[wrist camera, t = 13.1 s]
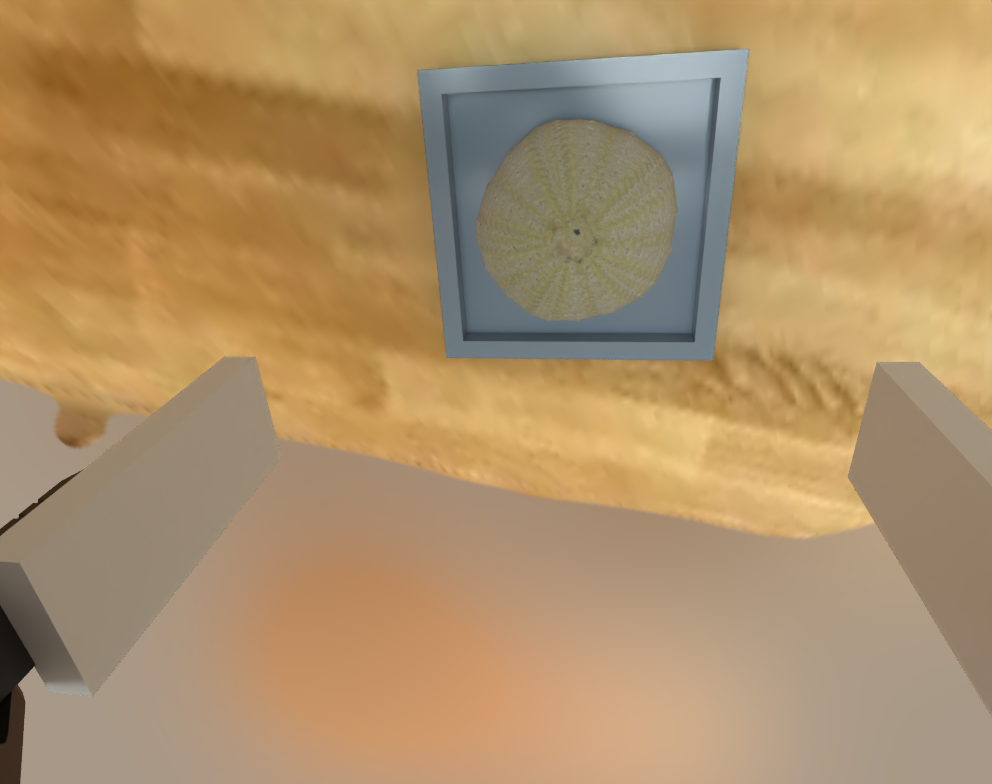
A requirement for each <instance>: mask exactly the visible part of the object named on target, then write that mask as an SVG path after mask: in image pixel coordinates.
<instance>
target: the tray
mask: <svg viewBox="0 0 992 784" xmlns="http://www.w3.org/2000/svg"><path fill="white" fill-rule="evenodd" d="M748 55H749V49H738V50H722V51H707V52H692V53H676V54H661V55H645V56H630V57H614V58H599V59H583V60H568V61H553V62H537V63H522V64H506V65H491V66H475V67H460V68H445V69H429V70H417V73H418V83H419V92H420V102H421V112H422V122H423V132H424V141H425V151H426V161H427V171H428V180H429V190H430V200H431V210H432V220H433V229H434V239H435V249H436V259H437V268H438V278H439V288H440V298H441V308H442V317H443V327H444V337H445V347H446V357H447V358H503V359H607V360H711V361H713V358H714V349H715V341H716V332H717V323H718V315H719V306H720V297H721V289H722V280H723V271H724V263H725V254H726V245H727V237H728V228H729V219H730V211H731V202H732V193H733V185H734V176H735V167H736V159H737V150H738V141H739V133H740V124H741V115H742V107H743V98H744V89H745V81H746V72H747V63H748ZM574 119H583V120H592V119H594V120H595V121H597V122H603V123H604V124H606V125H609V126H611V127H615V128H619V129H624V130H626V131H628V132H634V134H635V136H637V137H639V138H640V139H641V140H642V141H644V142H645V143H646V144H647V145H649V146H651V147H652V148H654V149H655V150H656V151H657V153H659V154H661V155H662V156H663V158H664V160H665V162H666V164H667V165H668V167H669V169H670V171H671V172H672V173H673V174H672V175H673V179H674V186H675V195H676V202H677V208H678V213H677V215H676V219H675V227H674V232H673V239H672V245H671V247H672V252H671V253H670V254H669V255H668V258H667V260H666V263H665V265H664V267H663V270H662V273H661V274H660V276H659V278H658V280H657V283H655V284H654V285H653V286H652V287H651V288H650V289H649V290H648V291H647V292H646V293H645V294H644V296H643V297H640V298H638V299H636V300H635V301H633V302H631V303H629V304H627V305H626V306H624V307H622V308H620V309H618V310H617V311H616V312H614V313H608V314H607V315H604V314H603V315H599V316H594V317H590V318H587V319H582V320H580V321H578V322H577V321H575V320H571V321H570V320H558V321H556V320H550V321H547V320H545V319H542V318H539V317H536V316H532V315H531V314H529V313H528V312H526V311H525V310H524V309H523V308H522V307H521V306H520V305H518V304H517V303H516V302H514V301H513V300H512V299H510V298H507V295H506V294H505V293H504V292H503V291H502V290H501V288H500V287H499V285H498V284H497V283H496V281H495V280H494V279H493V278H492V277H490V275H489V273H488V271H487V270H486V268H485V263H484V260H483V256H482V253H481V251H480V248H479V245H478V241H477V239H476V235H477V230H476V228H477V224H476V218H477V216H478V213H479V210H480V207H481V204H482V201H483V197H484V194H485V192H486V185H488V184H489V183H490V180H491V178H493V176H494V175H495V173H496V172H497V170H498V169H499V167H500V165H501V164H502V162H503V158H504V157H506V155H507V153H508V151H511V150H512V149H513V148H514V147H515V146H516V145H517V144H518V143H519V142H521V141H522V140H523V139H524V138H525V137H526V136H527V135H528V134H530V133H531V132H532V131H533V130H534V129H535V128H536V127H539V126H541V125H544V124H546V123H549V122H552V121H555V120H574Z"/></svg>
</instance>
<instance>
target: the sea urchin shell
mask: <svg viewBox="0 0 992 784" xmlns="http://www.w3.org/2000/svg"><path fill="white" fill-rule="evenodd" d="M672 174H673V173H672V172H671V171H670V169H669V167H668V165H667V164H666V162H665V160H664V158H663V156H662V155H661V154H659V153H657V151H656V150H655V149H654V148H652V147H651V146H649V145H647V144H646V143H645V142H644V141H642V140H641V139H640V138H639V137H637V136H635V134H634V132H628V131H626V130H624V129H619V128H615V127H611V126H609V125H606V124H604V123H603V122H597V121H595V120H594V119H592V120H583V119H574V120H555V121H552V122H549V123H546V124H544V125H541V126H539V127H536V128H535V129H534V130H533V131H532V132H531V133H530V134H528V135H527V136H526V137H525V138H524V139H523V140H522V141H521V142H519V143H518V144H517V145H516V146H515V147H514V148H513V149H512V150H511V151H508V153H507V155H506V157H504V158H503V162H502V164H501V165H500V167H499V169H498V170H497V172H496V173H495V175H494V176H493V178H491V180H490V183H489V184H488V185H486V192H485V194H484V197H483V201H482V204H481V207H480V210H479V213H478V216H477V218H476V224H477V228H476V230H477V235H476V239H477V241H478V245H479V248H480V251H481V253H482V256H483V260H484V263H485V268H486V270H487V271H488V273H489V275H490V277H492V278H493V279H494V280H495V281H496V283H497V284H498V285H499V287H500V288H501V290H502V291H503V292H504V293H505V294H506V295H507V298H510V299H512V300H513V301H514V302H516V303H517V304H518V305H520V306H521V307H522V308H523V309H524V310H525V311H526V312H528V313H529V314H531V315H532V316H536V317H539V318H542V319H545V320H547V321H550V320H556V321H558V320H570V321H571V320H575V321H577V322H578V321H580V320H582V319H587V318H590V317H594V316H599V315H603V314H604V315H607V314H608V313H614V312H616V311H617V310H618V309H620V308H622V307H624V306H626V305H627V304H629V303H631V302H633V301H635V300H636V299H638V298H640V297H643V296H644V294H645V293H646V292H647V291H648V290H649V289H650V288H651V287H652V286H653V285H654V284H655V283H657V280H658V278H659V276H660V274H661V273H662V270H663V267H664V265H665V263H666V260H667V258H668V255H669V254H670V253H671V252H672V247H671V245H672V239H673V232H674V227H675V219H676V215H677V213H678V208H677V202H676V195H675V186H674V179H673V175H672Z"/></svg>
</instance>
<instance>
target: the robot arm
mask: <svg viewBox="0 0 992 784" xmlns="http://www.w3.org/2000/svg"><path fill="white" fill-rule="evenodd" d="M281 458H282V457H281V453H280V449H279V445H278V442H277V438H276V434H275V430H274V426H273V422H272V419H271V415H270V411H269V407H268V403H267V399H266V396H265V392H264V388H263V384H262V380H261V376H260V373H259V369H258V365H257V361H256V357H224V358H222V359H221V360H220V361H219V362H217V363H216V364H215V365H214V366H212V367H211V368H210V369H209V370H207V371H206V372H205V373H204V374H202V375H201V376H200V377H199V378H197V379H196V380H195V381H194V382H192V383H191V384H190V385H189V386H187V387H186V388H185V389H184V390H182V391H181V392H180V393H179V394H177V395H176V396H175V397H174V398H172V399H171V400H170V401H169V402H167V403H166V404H165V405H164V406H162V407H161V408H160V409H159V410H157V411H156V412H155V413H154V414H152V415H151V416H150V417H149V418H147V419H146V420H145V421H144V422H142V423H141V424H140V425H139V426H137V427H136V428H135V429H134V430H132V431H131V432H130V433H129V434H127V435H126V436H125V437H124V438H122V439H121V440H120V441H119V442H117V443H116V444H115V445H114V446H112V447H111V448H110V449H109V450H107V451H106V452H105V453H104V454H102V455H101V456H100V457H99V458H97V459H96V460H95V461H94V462H92V463H91V464H90V465H89V466H87V467H86V468H85V469H83V470H81V471H80V472H78V473H76V474H74V475H72V476H70V477H68V478H66V479H64V480H62V481H61V482H59V483H58V484H57V485H56V486H55V487H53V488H52V489H51V490H49V491H48V492H47V493H46V494H44V495H43V496H42V497H40V498H39V499H38V503H33V504H32V505H30V506H29V507H28V508H27V509H25V510H24V511H23V512H22V513H20V514H19V518H18V519H12V520H11V521H10V522H9V523H7V524H6V525H5V526H4V527H2V528H1V529H0V784H20V777H21V762H22V746H23V731H24V714H25V699H24V696H23V692H22V691H21V689H20V688H19V686H18V683H19V682H20V681H21V680H22V679H23V678H24V677H25V676H26V675H27V674H28V673H29V671H30V670H31V669H32V668H33V667H35V668H36V670H37V672H38V673H39V675H40V676H41V678H42V680H43V682H44V683H45V685H46V687H47V688H48V690H49V691H50V692H53V693H63V694H73V695H82V696H94V695H95V693H96V692H97V691H98V690H99V688H100V687H101V686H102V684H103V683H104V682H105V681H106V679H107V678H108V677H109V676H110V674H111V673H112V672H113V671H114V669H115V668H116V667H117V666H118V664H119V663H120V662H121V660H122V659H123V658H124V657H125V655H126V654H127V653H128V652H129V650H130V649H131V648H132V646H133V645H134V644H135V642H136V641H137V640H138V639H139V638H140V636H141V635H142V634H143V633H144V631H145V630H146V629H147V628H148V626H149V625H150V624H151V622H152V621H153V620H154V619H155V617H156V616H157V615H158V613H159V612H160V611H161V610H162V609H163V607H164V606H165V605H166V603H167V602H168V601H169V600H170V598H171V597H172V596H173V595H174V593H175V592H176V591H177V589H178V588H179V587H180V586H181V584H182V583H183V582H184V581H185V579H186V578H187V577H188V576H189V574H190V573H191V572H192V570H193V569H194V568H195V566H197V564H198V563H199V561H200V560H201V559H202V558H203V557H204V555H205V554H206V553H207V551H208V550H209V549H210V548H211V546H212V545H213V544H214V543H215V541H216V540H217V539H218V538H219V536H220V535H221V534H222V533H223V531H224V530H225V529H226V528H227V526H228V525H229V524H230V523H231V521H232V520H233V518H234V517H235V516H236V515H237V514H238V512H239V511H240V510H241V509H242V507H243V506H244V505H245V504H246V502H247V501H248V500H249V498H250V497H251V496H252V495H253V493H254V492H255V491H256V490H257V488H258V487H259V486H260V484H261V483H262V482H263V481H264V479H265V478H266V477H267V476H268V474H269V473H270V472H271V471H272V469H273V468H274V467H275V466H276V464H277V463H278V462H279V460H280V459H281ZM848 478H849V480H850V482H851V483H852V485H853V487H854V488H855V490H856V492H857V493H858V495H859V497H860V498H861V500H862V502H863V503H864V505H865V507H866V508H867V510H868V512H869V513H870V515H871V517H872V518H873V520H874V522H875V523H876V525H877V526H878V528H879V530H880V531H881V533H882V535H883V536H884V538H885V540H886V541H887V543H888V545H889V546H890V548H891V550H892V551H893V553H894V555H895V556H896V558H897V560H898V561H899V563H900V565H901V566H902V568H903V570H904V571H905V573H906V575H907V576H908V578H909V580H910V581H911V583H912V585H913V586H914V588H915V590H916V591H917V593H918V595H919V596H920V598H921V600H922V601H923V603H924V605H925V606H926V608H927V610H928V611H929V613H930V615H931V616H932V618H933V619H934V621H935V623H936V625H937V626H938V628H939V630H940V631H941V633H942V635H943V636H944V638H945V640H946V641H947V643H948V645H949V646H950V648H951V650H952V651H953V653H954V655H955V656H956V658H957V660H958V661H959V663H960V665H961V666H962V668H963V670H964V671H965V673H966V674H967V676H968V678H969V680H970V681H971V683H972V685H973V686H974V688H975V689H976V691H977V693H978V694H979V696H980V698H981V699H982V701H983V703H984V704H985V706H986V708H987V709H988V711H989V713H990V714H991V716H992V430H991V429H990V428H989V427H988V426H987V425H986V424H985V423H984V422H982V421H981V420H980V419H979V418H978V417H977V416H976V415H975V414H974V413H973V412H972V411H971V410H970V409H969V408H968V407H966V406H965V405H964V404H963V403H962V402H961V401H960V400H959V399H958V398H957V397H956V396H955V395H954V394H953V393H952V392H951V391H949V390H948V389H947V388H946V387H945V386H944V385H943V384H942V383H941V382H940V381H939V380H938V379H937V378H936V377H935V376H933V375H932V374H931V373H930V372H929V371H928V370H927V369H926V368H925V367H924V366H923V365H922V364H921V363H920V362H877V363H876V367H875V371H874V375H873V379H872V383H871V387H870V391H869V395H868V399H867V403H866V407H865V411H864V415H863V419H862V423H861V427H860V431H859V435H858V439H857V442H856V446H855V450H854V454H853V458H852V462H851V466H850V470H849V474H848Z"/></svg>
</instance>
